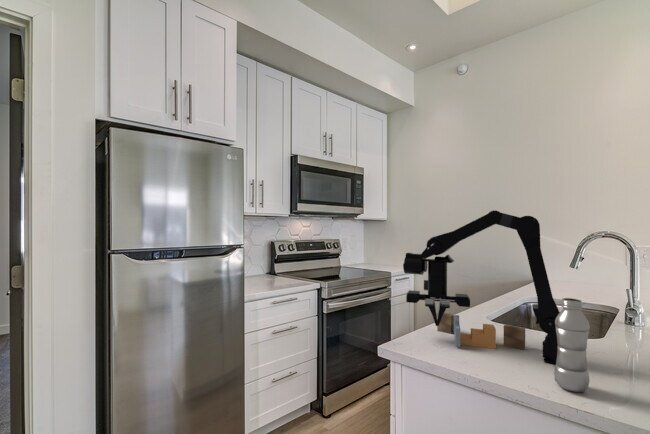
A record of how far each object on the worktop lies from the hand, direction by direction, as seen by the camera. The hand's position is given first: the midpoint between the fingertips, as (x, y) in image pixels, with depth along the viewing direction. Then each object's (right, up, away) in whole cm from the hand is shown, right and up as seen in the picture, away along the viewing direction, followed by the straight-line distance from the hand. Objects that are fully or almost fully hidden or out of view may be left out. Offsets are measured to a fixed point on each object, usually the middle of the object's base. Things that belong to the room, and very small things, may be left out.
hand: (437, 325), depth 108 cm
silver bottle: (+20, -5, -31) cm, 37 cm away
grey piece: (+6, -4, 0) cm, 8 cm away
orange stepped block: (+11, -5, -3) cm, 12 cm away
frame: (+13, -5, +2) cm, 14 cm away
